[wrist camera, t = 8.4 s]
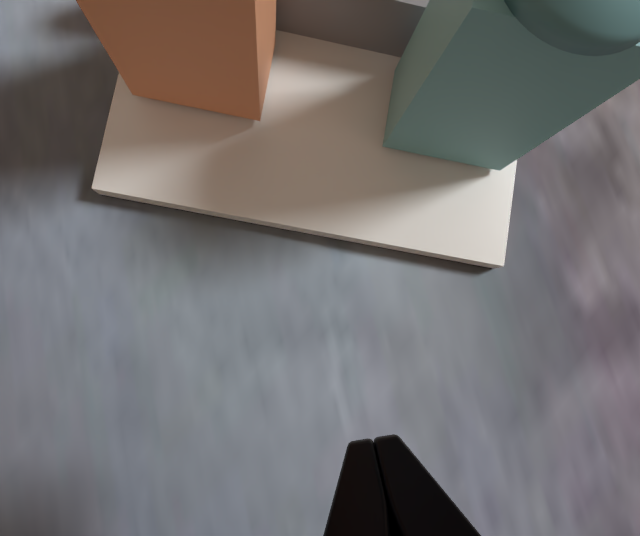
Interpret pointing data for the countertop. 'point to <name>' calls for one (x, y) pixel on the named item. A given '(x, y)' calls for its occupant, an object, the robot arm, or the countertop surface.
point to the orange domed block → (190, 50)
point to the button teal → (507, 74)
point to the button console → (313, 146)
